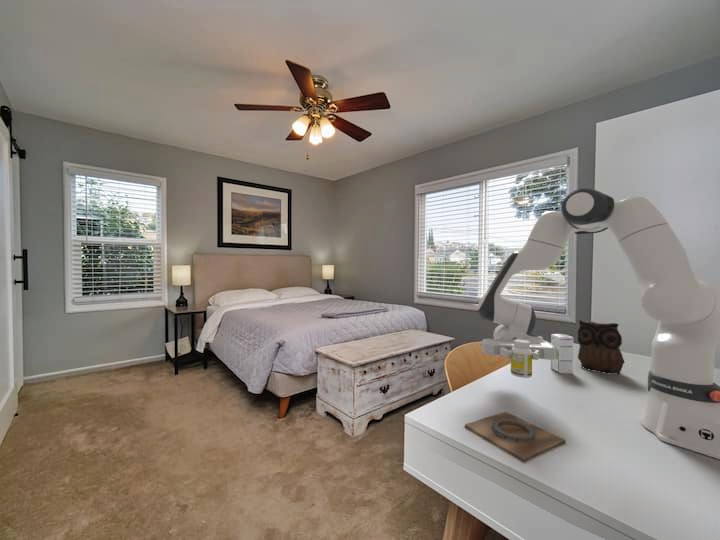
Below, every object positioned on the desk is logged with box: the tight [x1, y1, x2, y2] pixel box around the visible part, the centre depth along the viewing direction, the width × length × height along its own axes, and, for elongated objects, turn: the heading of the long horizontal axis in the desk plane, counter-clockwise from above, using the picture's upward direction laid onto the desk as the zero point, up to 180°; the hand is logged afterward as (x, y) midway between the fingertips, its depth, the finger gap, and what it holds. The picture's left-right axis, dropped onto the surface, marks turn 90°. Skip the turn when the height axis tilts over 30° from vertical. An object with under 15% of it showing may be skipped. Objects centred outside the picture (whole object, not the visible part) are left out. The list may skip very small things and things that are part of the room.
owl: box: [577, 319, 626, 375], centre depth 127 cm, size 13×13×20 cm
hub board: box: [464, 411, 566, 463], centre depth 76 cm, size 16×16×2 cm
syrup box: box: [550, 333, 574, 374], centre depth 124 cm, size 6×6×14 cm
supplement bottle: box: [510, 339, 533, 379], centre depth 88 cm, size 5×5×10 cm
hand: (522, 355), depth 87 cm, fingers closed on supplement bottle, 5 cm apart
